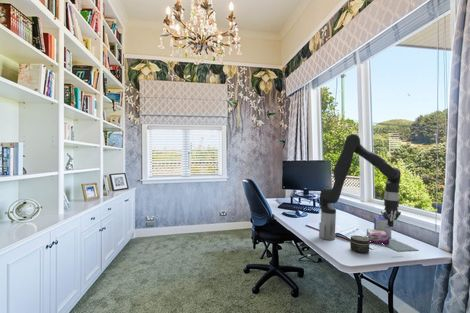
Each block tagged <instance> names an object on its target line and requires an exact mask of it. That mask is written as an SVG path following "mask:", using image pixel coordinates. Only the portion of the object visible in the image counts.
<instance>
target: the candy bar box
mask: <svg viewBox="0 0 470 313" xmlns="http://www.w3.org/2000/svg"><path fill="white" fill-rule="evenodd" d="M367 236H368V237H367ZM366 237H367V238H368V239H369V240H370V241H371V242H370V243H375V242H377V243H378V244H380V243H383V244H389V239H390V238H389V236H388V235H387V234H386V232H385V231H383V230H374V228H373V229H372V228H366Z"/></svg>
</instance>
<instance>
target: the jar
mask: <svg viewBox="0 0 470 313" xmlns="http://www.w3.org/2000/svg"><path fill="white" fill-rule="evenodd" d="M349 241H350V244H349V245H350V247H349V248H350V250H351V251H352V252H354V253H355V254H356V253H357V254H361V255H367V254H368V253H369V252H370V244H371V242H370V240H369V239H368V237H367V236H366V237H365V236H362V235H356V234H355V235H351V236H350V240H349Z"/></svg>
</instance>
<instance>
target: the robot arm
mask: <svg viewBox="0 0 470 313" xmlns="http://www.w3.org/2000/svg"><path fill="white" fill-rule="evenodd" d="M342 148H343V149H342V151H341V153H340V154H339V157H338V158H337V161H336V163H335V164H334V168H333V177H334V184H333V186H332V188H328V187H324V188H321V190H320V194H319V207H320V222H319V223H318V225H319V226H318V237H319V238H321V240H322V239H323V240H326V241H334V240H335V239H336V222H337V221H336V219H337V209H336V208H335V207H334V206H333V205H332V204H336V203H338V201H339V200H340V197H341V193H342V190H343V186H344V184H345V181H346V178H347V176H348V174H349V172H350V169H351V166H352V162H353V159H354V155H355V154H356V155H357V156H360V157H361V158H363V159H364V160H366V161H367V162H369V164H371V165H372V166H374V168H376V169H377V170H379V172H380V173H381V174H382V175H383V176H384V177H385V178H387V180H386V183H385V186H384V187H385V189H384V197H383V199H384V201H383V206H384V209H383V211H382V210H381V211H380V213H381V215H383V216H382V217H384V218H385V219H387V220H388V226H389V227H391V228H393V227H394V221H397V220H398V219H399V217H400V215H402V212H401V211H399V209H398V208H399V205H400V204H399V203H400V201H399V200H400V195H399V193H400V191H399V190H400V189H399V188H400V181H401V176H402V175H401V170H400V168H397V167H393V166H392V165H390V164H389V163H388V162H387V160H385V159H384V158H383V157H381V156H380V155H378V153H375V152H373V151H370V150H369V149H367V148H366V147H364V145H362V144H361V137H360V136H359V135H358V134H356V133H353V134H350V135H348V136H347V137H346V138H345V141H344V145H343V147H342ZM354 153H355V154H354Z"/></svg>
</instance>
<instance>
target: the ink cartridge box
mask: <svg viewBox="0 0 470 313" xmlns="http://www.w3.org/2000/svg"><path fill="white" fill-rule="evenodd" d="M378 215H379V217H373V229H374V230H383V231H385V232H386V234H387V235H388V236H389V239H392V227H389V226H388V220H387V219H385V218H384V217H383V215H382V214H378Z"/></svg>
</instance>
